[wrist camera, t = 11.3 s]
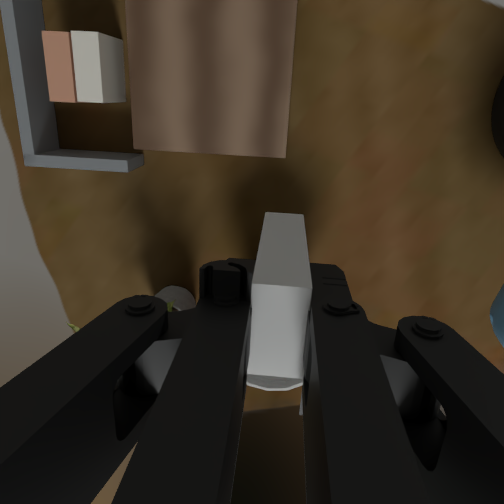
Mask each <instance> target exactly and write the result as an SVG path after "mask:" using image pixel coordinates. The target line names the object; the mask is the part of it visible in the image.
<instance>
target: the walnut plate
mask: <svg viewBox="0 0 504 504" xmlns="http://www.w3.org/2000/svg"><path fill="white" fill-rule="evenodd" d="M125 8H126V25H127V42H128V60H129V77H130V95H131V112H132V130H133V147H134V149H141V150H158V151H175V152H191V153H208V154H224V155H241V156H258V157H274V158H286V144H287V131H288V118H289V105H290V92H291V79H292V65H293V52H294V39H295V26H296V13H297V0H125Z"/></svg>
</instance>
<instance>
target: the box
mask: <svg viewBox="0 0 504 504" xmlns="http://www.w3.org/2000/svg"><path fill="white" fill-rule="evenodd" d="M0 8H1V14H2V21H3V27H4V34H5V40H6V46H7V53H8V59H9V66H10V72H11V79H12V85H13V92H14V98H15V105H16V111H17V118H18V124H19V131H20V137H21V144H22V150H23V156H24V163H25V166H36V167H51V168H67V169H83V170H98V171H114V172H130V171H132V170H134V169H136V168H138V167H140V166H142V165H144V156H143V154H138V153H122V152H105V151H89V150H73V149H60V148H59V140H58V132H57V124H56V115H55V107H54V101H50V98H49V90H48V81H47V73H46V65H45V56H44V48H43V40H42V31H45V25H44V17H43V9H42V1H41V0H0Z"/></svg>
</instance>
